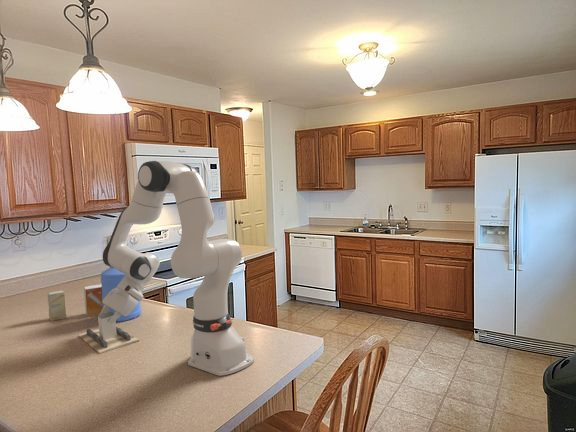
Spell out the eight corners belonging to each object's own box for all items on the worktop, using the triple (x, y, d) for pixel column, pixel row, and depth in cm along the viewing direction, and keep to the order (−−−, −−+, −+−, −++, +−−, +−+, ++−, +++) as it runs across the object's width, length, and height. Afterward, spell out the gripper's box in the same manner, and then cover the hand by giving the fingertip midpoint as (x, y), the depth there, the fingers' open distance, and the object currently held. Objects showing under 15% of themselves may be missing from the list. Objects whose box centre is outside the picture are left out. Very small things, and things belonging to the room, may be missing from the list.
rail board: (139, 341, 144) (138, 334, 144) (99, 353, 135) (99, 346, 134) (115, 326, 161) (114, 320, 161) (78, 336, 152) (78, 329, 152)
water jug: (95, 321, 168) (90, 258, 166) (121, 309, 183) (116, 251, 181) (125, 323, 164) (120, 259, 161) (148, 311, 179) (144, 252, 176)
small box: (87, 317, 174) (84, 289, 173) (85, 313, 179) (83, 286, 178) (106, 313, 178) (104, 286, 177) (104, 310, 184) (102, 283, 182)
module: (116, 336, 148) (115, 313, 147) (103, 340, 145) (101, 317, 144) (113, 333, 151) (111, 311, 150) (99, 337, 148) (97, 314, 147)
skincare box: (50, 321, 170) (48, 294, 169) (49, 319, 174) (46, 292, 173) (66, 317, 174) (64, 291, 173) (65, 315, 178) (62, 289, 177)
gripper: (113, 281, 159) (89, 310, 153) (133, 289, 144) (107, 322, 138) (124, 289, 162) (102, 318, 156) (145, 298, 147) (121, 330, 141)
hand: (105, 320), depth 147 cm, fingers open, 8 cm apart
